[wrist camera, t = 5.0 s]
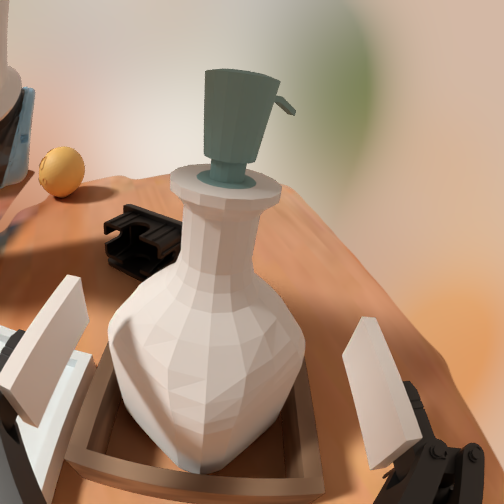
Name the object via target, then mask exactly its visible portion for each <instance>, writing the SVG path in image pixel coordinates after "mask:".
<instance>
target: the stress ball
mask: <svg viewBox="0 0 504 504" xmlns="http://www.w3.org/2000/svg"><path fill="white" fill-rule="evenodd" d="M84 173H85V166H84V161H83V159H82V157H81V155H80V154H79V153H78V152H77V151H76V150H74V149H72V148H70V147H58V148H55V149H52V150H50V151H49V152H48V153H47V155H46V156H45V157H44V158H43V159H42V161H41V163H40V166H39V182H40V185H42V186H43V188H44V189H45V190H46V191H47V192H48V193H50V194H52V195H54V196H57V197H59V198H63V197H67V196H68V195H69V194H71V193H72V192H74V191H75V190H76V189H77V188H78V187H79V186H80V184H81V182H82V180H83V177H84Z"/></svg>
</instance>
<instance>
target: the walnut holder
mask: <svg viewBox="0 0 504 504" xmlns="http://www.w3.org/2000/svg"><path fill="white" fill-rule="evenodd" d="M121 397H122V394H121V391H120V387H119V384H118V380H117V376H116V373H115V369H114V365H113V361H112V357H111V352H110V347H109V341H108V343H107V346H106V348H105V350H104V353H103V355H102V357H101V360H100V362H99V364H98V367H97V369H96V372H95V374H94V377H93V379H92V382H91V384H90V387H89V389H88V392H87V394H86V397H85V399H84V402H83V405H82V407H81V410H80V413H79V416H78V418H77V421H76V424H75V427H74V430H73V433H72V436H71V439H70V442H69V445H68V448H67V451H66V454H65V457H64V459H65V460H66V461H67V462H68V463H69V464H70V466H71V467H72V468H73V469H74V470H75V471H76V472H77V473H78V474H79V475H80V476H81V477H82V478H85V479H88V480H91V481H94V482H97V483H100V484H104V485H107V486H110V487H114V488H118V489H121V490H125V491H129V492H133V493H137V494H142V495H146V496H151V497H156V498H161V499H167V500H173V501H179V502H186V503H193V504H309V503H311V502H312V501H314V500H315V499H317V498H319V497H320V496H322V495H323V494H325V487H324V480H323V472H322V465H321V458H320V451H319V444H318V437H317V431H316V424H315V417H314V411H313V405H312V398H311V392H310V386H309V380H308V374H307V368H306V362H305V357H304V358H303V362H302V366H301V368H300V371H299V373H298V375H297V377H296V379H295V382H294V384H293V386H292V388H291V390H290V392H289V395H288V397H287V399H286V401H285V403H284V405H283V407H282V409H281V418H282V431H283V444H284V457H285V471H286V478H282V479H267V478H238V477H224V476H213V475H204V474H196V473H188V472H181V471H175V470H169V469H163V468H158V467H153V466H148V465H143V464H139V463H135V462H130V461H126V460H122V459H119V458H115V457H111V456H108V455H105V454H106V450H107V446H108V442H109V439H110V435H111V431H112V428H113V424H114V421H115V417H116V414H117V411H118V407H119V404H120V401H121Z"/></svg>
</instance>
